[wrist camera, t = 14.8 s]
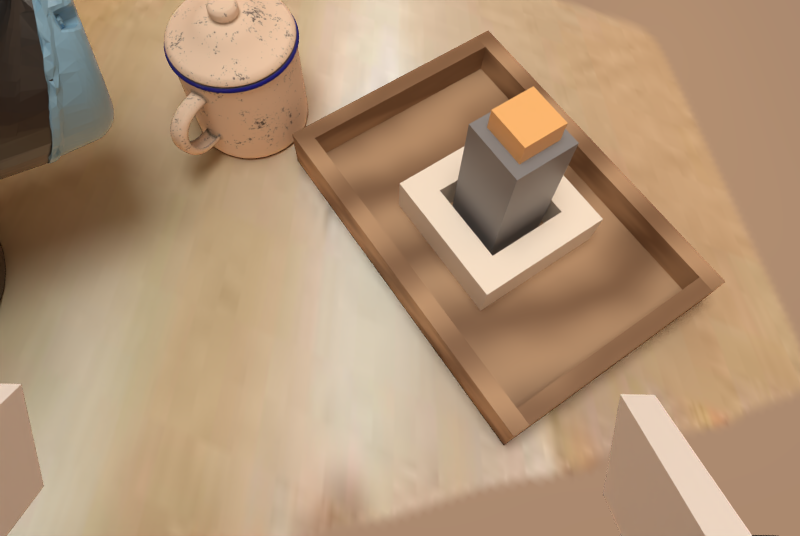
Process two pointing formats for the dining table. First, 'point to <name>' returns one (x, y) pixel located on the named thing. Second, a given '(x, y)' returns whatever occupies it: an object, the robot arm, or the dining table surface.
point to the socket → (467, 255)
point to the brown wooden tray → (571, 274)
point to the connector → (512, 169)
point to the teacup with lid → (236, 76)
